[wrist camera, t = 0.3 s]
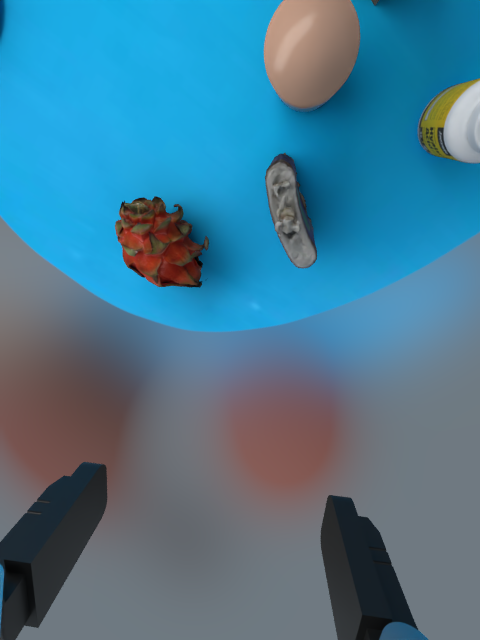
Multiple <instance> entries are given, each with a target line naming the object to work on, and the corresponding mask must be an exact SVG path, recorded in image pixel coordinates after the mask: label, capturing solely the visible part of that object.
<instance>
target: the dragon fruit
mask: <svg viewBox="0 0 480 640" xmlns="http://www.w3.org/2000/svg"><path fill="white" fill-rule="evenodd" d="M174 207H178V211H176V212H174V213H171V214H169V213H167V212H166V210H165V209H166V206H165V203H164V202H163V200H162V199H161V198H159V197H154V198H153V200H147V199H146V198H138V199H135V200H134V201H133V202H132V203H130V204H129V203H125V201H124V203H123V201H122V204H121V208H120V211H119V215H120V217H121V220H118V221H116V224H115V229H116V234H117V236H118V241H119V242H120V243H121V245H122V248H123V259H124V262H125V264H126V265H127V267H128V268H130V269H132V270H133V271H135V272H136V273H137V274H138V275H140V276H141V277H144V278H145V277H146V279H147V280H148V281H149V282H151V283H153V284H155V285H156V286H158V287H166V286H180V287H182V286H184V287H185V286H186V287H201V285H202V282H199V280H200V277H201V271H200V270H201V268H202V265H203V263H202V262H201V261H199V258H198V256H200V255H202V253H201V252H200V251H201V250H202V249H203V248H205V249H206V250H208V244H209V240H208V237H207V236H205V240H204V244H203V245H199V244H197V243H194V242H192V241H191V240H190V239H189V237H188V234H189V233H191V231H192V225H191V224H189V223H187V222H186V221H184V220H181V218H182V217H183V209H182V207H181V206H180V205H179V204H175V205H174ZM180 220H181V221H180ZM195 251H196V252H195ZM194 258H195V259H194ZM205 281H206V280H205Z"/></svg>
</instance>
